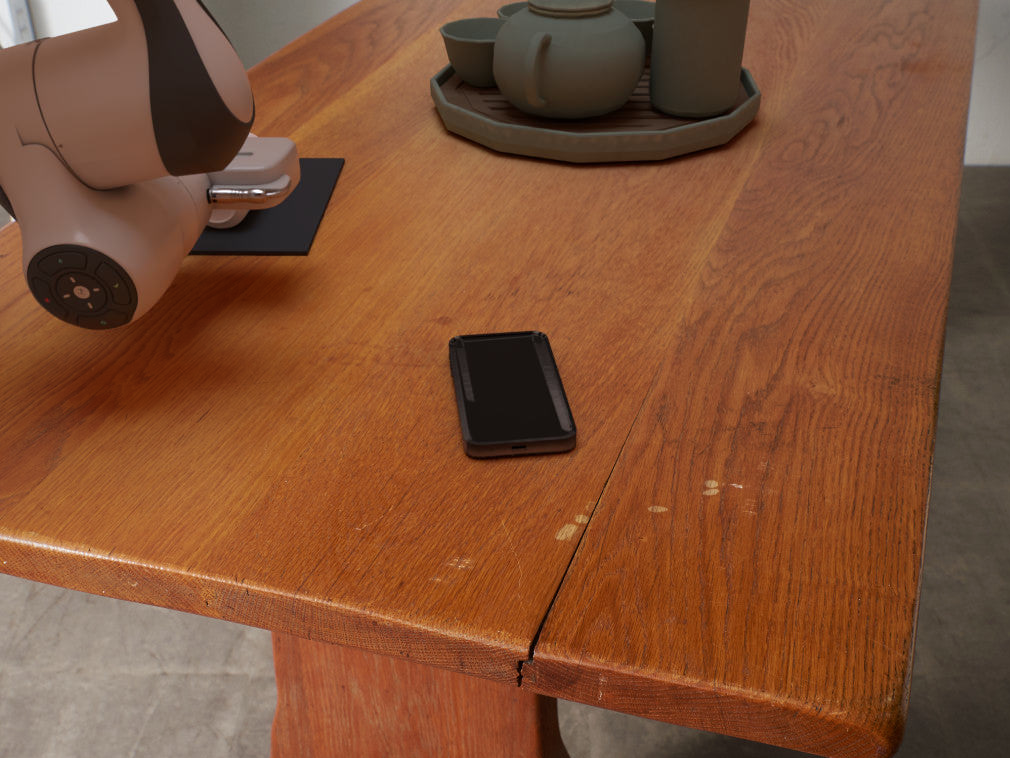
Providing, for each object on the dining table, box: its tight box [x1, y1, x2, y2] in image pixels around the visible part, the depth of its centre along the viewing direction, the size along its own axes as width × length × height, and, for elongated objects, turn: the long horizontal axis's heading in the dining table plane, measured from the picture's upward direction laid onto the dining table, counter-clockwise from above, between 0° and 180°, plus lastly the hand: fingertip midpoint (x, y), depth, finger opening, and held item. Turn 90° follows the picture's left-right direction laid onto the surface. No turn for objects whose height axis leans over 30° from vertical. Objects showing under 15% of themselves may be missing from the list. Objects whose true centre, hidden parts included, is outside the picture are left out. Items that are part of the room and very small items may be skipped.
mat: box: [188, 157, 346, 256], centre depth 102 cm, size 18×24×1 cm
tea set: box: [429, 0, 762, 164], centre depth 120 cm, size 40×40×16 cm
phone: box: [448, 330, 578, 459], centre depth 74 cm, size 8×1×15 cm
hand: (196, 137), depth 89 cm, fingers closed
